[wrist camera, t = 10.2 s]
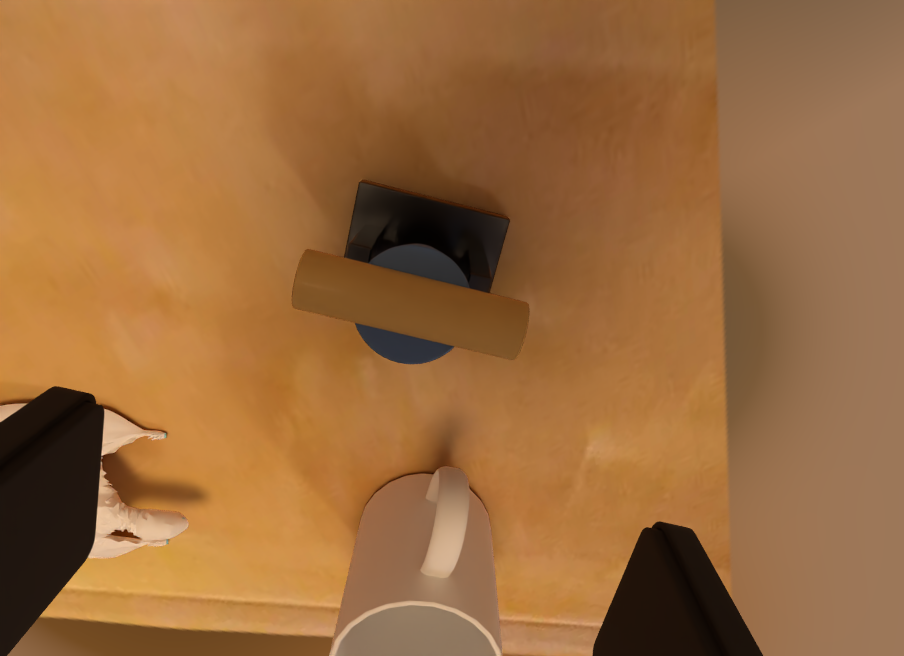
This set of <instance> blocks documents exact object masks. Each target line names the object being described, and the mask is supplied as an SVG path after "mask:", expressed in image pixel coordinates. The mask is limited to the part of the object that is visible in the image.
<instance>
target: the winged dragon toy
mask: <svg viewBox="0 0 904 656" xmlns="http://www.w3.org/2000/svg"><path fill="white" fill-rule="evenodd" d="M26 404H28V403H23V404H9V405H2V406H0V422H1V421H3V420H4V419H6V418H7V417H9V416H10V415H12V414H13V413H15V412H16V411H18V410H19V409H20V408H22V407H23V406H25V405H26ZM166 434H167V433H164V432H162V431H158V430H153V431H150V430H143V429H141V428H139V427H137V426H136V425H134V424H133V423H131V422H129V421H128V420H126V419H124V418H123V417H121V416H119V415H118V414H116V413H114V412H112V411H109V410H107V409H104V428H103V441H102V454H101V456H103V455H105V454H108V453H115V452H116V451H117V450H118V449H119V448H120V447H121V446H123V445H126V444H130V443H133V442H134V441H135V440H136V439H138V438H140V437H143V436H149V438H153V439H152V440H154V439H157V440H159V439H163V438H166V437H167V436H166ZM149 438H148V439H149ZM152 440H151V441H152ZM101 458H102V457H101ZM105 474H106V472H104V471H103V468H102V462H101V468H100V481H99V494H98V507H97V520H96V533H95V541H94V544H93V547H92V550H91V552H90V554H89V556H88V558H113V557H117V556H120V555H123V554H126V553H128V552H130V551H132V550H135V549H137V548H139V547H141V546H144V545H147V544H148V546H154V547H156V546H164V545H166V544H168V539H170V538H173V537H175V536H177V535H179V534H180V533H182V532H183V531H184V530H186V529H187V528H188V521H187V519H186V517H185V516H184V515H182V514H181V513H179V512H176V511H165V510H156V509H138V508H134V507H130V506H126V505H125V503H122V502H121V500H120V498H119V495H118V494H117V491H115V489H113V488H112V487H111V486H109V485H113V484H109V483H107V482H109V481H108V480H106V479H105V478H104V475H105ZM125 529H127V530H128V532H131V533H133V534H134V535H136V536H137V537H140V538H141V539H138V538H130V537H121V536H114V535H107V534H111V533H112V532H115V531H114V530H121V531H122V532H123V531H124V530H125Z"/></svg>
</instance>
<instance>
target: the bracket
mask: <svg viewBox="0 0 904 656" xmlns="http://www.w3.org/2000/svg"><path fill="white" fill-rule="evenodd" d="M509 222H510V220H509V218H508V217H507V216H504V215H501V214H497V213H493V212H489V211H485V210H481V209H477V208H473V207H469V206H465V205H461V204H458V203H454V202H450V201H446V200H442V199H438V198H434V197H430V196H426V195H422V194H418V193H415V192H411V191H407V190H403V189H399V188H395V187H391V186H387V185H383V184H379V183H375V182H372V181H368V180H361V181H360V182H359V186H358V191H357V196H356V201H355V206H354V211H353V215H352V220H351V225H350V230H349V235H348V240H347V245H346V250H345V255H344V258H348V259H352V260H356V261H360V262H364V263H369V262H370V261H371V260H372V259H373V258H374V257H376V256H377V255H379V254H380V253H382V252H384V251H386V250H388V249H390V248H393V247H396V246H401V245H407V244H425V245H428V246H431V247H433V248H435V249H437V250H438V251H440V252H442V253H443V254H445V255H446V256H448V257H449V258H450V259H451V260H453V261H454V262H455V263H456V264H457V266H458V267H459V268H460V269H461V271H462V272H463V274H464V276H465V277H466V279H467V282H468V284H469V287H470V289H474V290H478V291H482V292H486V293H490V289H491V286H492V282H493V279H494V275H495V272H496V268H497V265H498V261H499V257H500V254H501V250H502V247H503V243H504V240H505V236H506V233H507V229H508V225H509Z"/></svg>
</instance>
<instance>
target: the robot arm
mask: <svg viewBox="0 0 904 656" xmlns="http://www.w3.org/2000/svg"><path fill="white" fill-rule="evenodd" d="M103 428H104V408H103V406H101V405H98V404H96V400H95V397H94V396H93V395H92V394H89V393H85V392H80V391H76V390H71V389H67V388H63V387H56V386H54V387H52V388H50V389H48V390H47V391H45V392H44V393H42V394H41V395H40V396H38V397H37V398H35V399H34V400H32V401H31V402H29V403H28V404H26V405H25V406H23V407H22V408H20V409H19V410H18V411H16V412H15V413H13V414H12V415H10V416H9V417H7V418H6V419H4V420H3V421H1V422H0V656H7V655H8V654H9V653H10V651H11V650H12V649H13V648H14V647H15V645H16V644H17V643H18V642H19V640H20V639H21V638H22V637H23V636H24V634H25V633H26V632H27V631H28V630H29V628H30V627H31V626H32V625H33V624H34V622H35V621H36V620H37V619H38V617H39V616H40V615H41V614H42V613H43V611H44V610H45V609H46V608H47V607H48V605H49V604H50V603H51V602H52V601H53V599H54V598H55V597H56V596H57V595H58V593H59V592H60V591H61V590H62V588H63V587H64V586H65V585H66V584H67V582H68V581H69V580H70V579H71V578H72V576H73V575H74V574H75V573H76V572H77V570H78V569H79V568H80V567H81V566H82V564H83V563H84V562H85V560H86V559H87V558H88V556H89V554H90V552H91V550H92V547H93V544H94V541H95V533H96V520H97V507H98V494H99V481H100V468H101V454H102V441H103ZM593 656H763V655H762V653H761V651H760V649H759V647H758V646H757V644H756V642H755V640H754V638H753V637H752V635H751V633H750V631H749V629H748V628H747V626H746V624H745V622H744V621H743V619H742V617H741V615H740V613H739V611H738V610H737V608H736V606H735V604H734V602H733V601H732V599H731V597H730V595H729V594H728V592H727V590H726V588H725V586H724V585H723V583H722V581H721V579H720V577H719V576H718V574H717V572H716V570H715V568H714V567H713V565H712V563H711V561H710V559H709V558H708V556H707V554H706V552H705V550H704V549H703V547H702V545H701V543H700V541H699V540H698V538H697V536H696V534H695V533H694V531H693V530H692V529H690V528H687V527H682V526H678V525H673V524H669V523H664V522H660V521H659V522H656V523H655V524H654V525H653V526H652V528H648V527H647V528H644V529H643V530H642V532H641V534H640V536H639V539H638V541H637V543H636V546H635V548H634V550H633V553H632V555H631V558H630V560H629V562H628V565H627V567H626V569H625V572H624V574H623V576H622V579H621V581H620V584H619V586H618V588H617V591H616V593H615V595H614V598H613V600H612V603H611V605H610V607H609V610H608V612H607V614H606V617H605V619H604V621H603V624H602V626H601V629H600V631H599V633H598V636H597V638H596V640H595V644H594V648H593Z"/></svg>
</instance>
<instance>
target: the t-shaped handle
mask: <svg viewBox="0 0 904 656" xmlns="http://www.w3.org/2000/svg"><path fill="white" fill-rule="evenodd" d="M292 306H293V308H295V309H299V310H303V311H307V312H311V313H315V314H320V315H324V316H328V317H332V318H337V319H341V320H345V321H349V322H353V323H355V325H356V327H357V330H358V332H359V333H360V335H361V337H362V338H363V340H364V341H365V342H366V343H367V344H368V346H369V347H370V348H371V349H373V350H374V351H375V352H376V353H378V354H379V355H381V356H383V357H384V358H387V359H389V360H391V361H395V362H398V363H403V364H422V363H426V362H430V361H433V360H435V359H438V358H440V357H442V356H443V355H445V354H446V353H448V352H449V351H450V350H452V349H453V348H454V347H459V348H463V349H467V350H471V351H475V352H480V353H484V354H488V355H492V356H496V357H501V358H505V359H509V360H515V359H516V358H517V356H518V355H519V353H520V351H521V348H522V346H523V343H524V339H525V336H526V332H527V327H528V321H529V304H528V303H527V302H523V301H519V300H515V299H511V298H507V297H503V296H499V295H494V294H490V293H486V292H482V291H478V290H474V289H470V287H469V284H468V282H467V279H466V277H465V276H464V274H463V272H462V271H461V269H460V268H459V267H458V266H457V264H456V263H455V262H454V261H453V260H451V259H450V258H449V257H448V256H446V255H445V254H443V253H442V252H440V251H438V250H437V249H435V248H433V247H431V246H428V245H425V244H407V245H401V246H396V247H393V248H390V249H388V250H386V251H384V252H382V253H380V254H379V255H377V256H376V257H374V258H373V259H372V260H371V261H370V262H369V263H364V262H360V261H356V260H352V259H348V258H344V257H340V256H336V255H331V254H327V253H323V252H319V251H315V250H311V249H306V250H305V252H304V253H303V255H302V257H301V259H300V262H299V265H298V268H297V272H296V275H295V280H294V285H293V291H292Z"/></svg>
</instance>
